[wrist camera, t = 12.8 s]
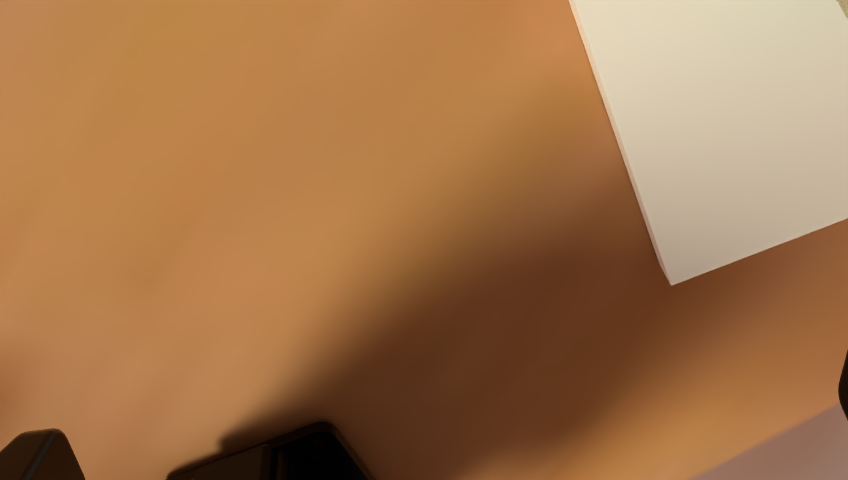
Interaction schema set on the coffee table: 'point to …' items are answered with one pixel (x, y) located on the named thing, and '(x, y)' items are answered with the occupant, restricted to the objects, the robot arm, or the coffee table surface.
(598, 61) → the neck block
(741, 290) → the coffee table surface
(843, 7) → the cap
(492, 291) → the coffee table surface
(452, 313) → the coffee table surface
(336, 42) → the coffee table surface
